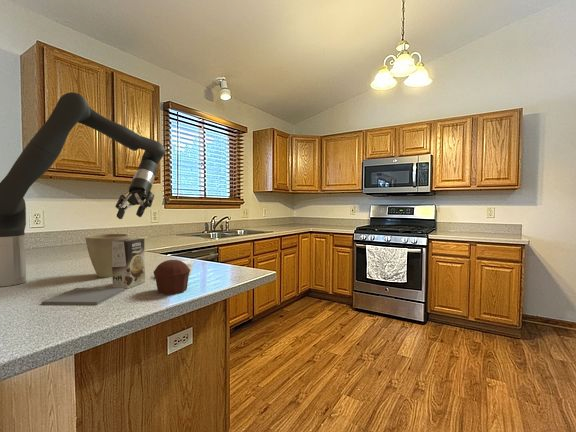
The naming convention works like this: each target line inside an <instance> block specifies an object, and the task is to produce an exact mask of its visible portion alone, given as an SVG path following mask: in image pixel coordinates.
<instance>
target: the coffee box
mask: <svg viewBox="0 0 576 432" xmlns="http://www.w3.org/2000/svg"><path fill="white" fill-rule="evenodd" d="M145 246H146V245H145V238H139V237H138V238H128V239H123V240H117V241H112V278H111V279H112V281H111V282H112V288H124V290H127V289H131V288H133V287H136V286H138V285H141V284H144V283H146V262H145V259H146V257H145V255H146V254H145V253H146V252H145V249H146V247H145Z"/></svg>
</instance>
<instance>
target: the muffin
mask: <svg viewBox="0 0 576 432" xmlns="http://www.w3.org/2000/svg"><path fill="white" fill-rule="evenodd" d="M179 260H180V259H168V260H164V261H162V262H160V263H159V264H158V265H156V268H155V269H154V270H153V275H154V278H155V283H156V288H157V289H156V290H157V293H158V294H159V295H165V296H171V295H178V294H182V293H184V292H186V291H187V290H188V283H189V277H190V275H189V272H190V269H189V268H188V266H187V265H186V264H185V263H184V262H182V261H179Z"/></svg>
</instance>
